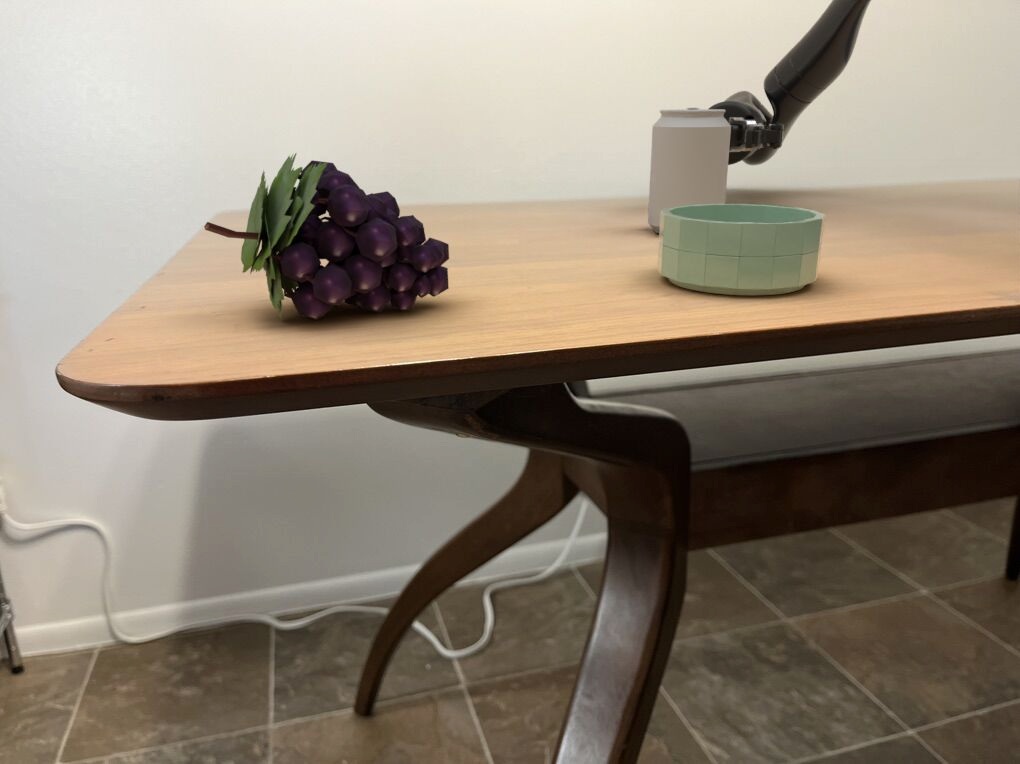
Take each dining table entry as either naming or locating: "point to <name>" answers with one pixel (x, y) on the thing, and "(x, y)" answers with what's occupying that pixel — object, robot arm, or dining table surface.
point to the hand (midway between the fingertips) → (709, 137)
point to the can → (688, 160)
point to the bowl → (740, 247)
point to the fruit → (337, 244)
